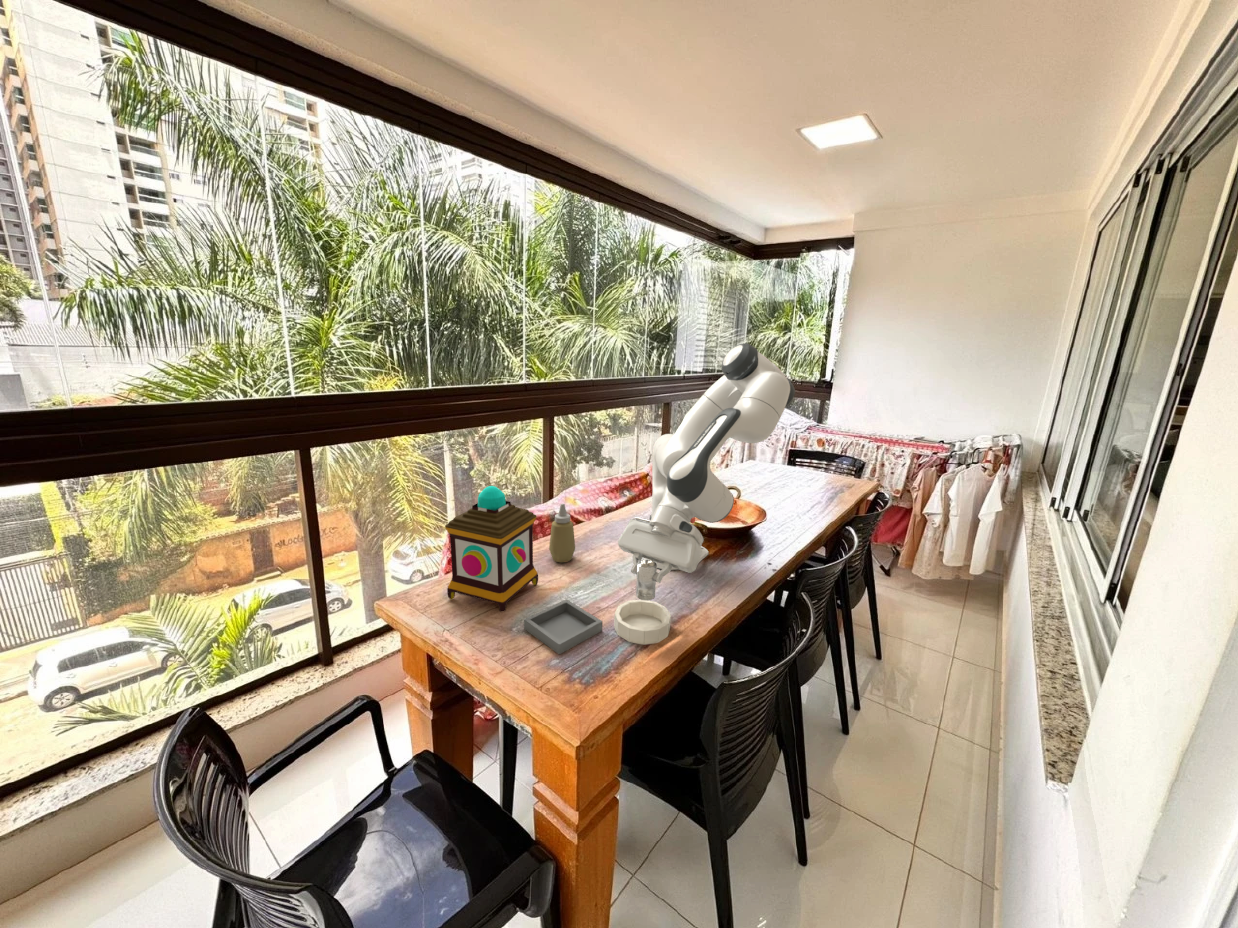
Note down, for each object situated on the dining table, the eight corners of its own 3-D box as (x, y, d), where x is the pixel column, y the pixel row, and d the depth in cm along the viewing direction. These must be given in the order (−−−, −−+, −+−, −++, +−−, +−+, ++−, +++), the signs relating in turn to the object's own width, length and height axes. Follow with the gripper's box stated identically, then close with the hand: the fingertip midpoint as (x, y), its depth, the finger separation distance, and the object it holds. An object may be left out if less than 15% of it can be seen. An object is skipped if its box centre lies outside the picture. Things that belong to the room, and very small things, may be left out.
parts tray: (566, 611, 127) (566, 599, 126) (602, 634, 118) (602, 621, 117) (524, 632, 117) (523, 619, 117) (559, 658, 109) (559, 644, 108)
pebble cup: (644, 588, 120) (646, 554, 118) (658, 595, 117) (661, 561, 115) (631, 595, 117) (633, 560, 115) (646, 602, 114) (648, 567, 112)
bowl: (639, 609, 129) (640, 594, 127) (679, 631, 120) (681, 615, 119) (603, 629, 120) (604, 613, 118) (644, 655, 111) (645, 637, 110)
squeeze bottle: (557, 567, 149) (557, 510, 144) (544, 556, 156) (544, 502, 151) (580, 560, 154) (581, 506, 149) (566, 550, 160) (567, 498, 155)
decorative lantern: (486, 568, 147) (482, 470, 139) (545, 582, 140) (545, 481, 132) (439, 601, 129) (432, 491, 121) (504, 619, 122) (501, 504, 114)
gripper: (627, 509, 124) (603, 559, 119) (703, 529, 113) (679, 585, 108) (636, 520, 129) (613, 569, 123) (709, 541, 117) (687, 595, 112)
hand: (645, 577), depth 115 cm, fingers closed on pebble cup, 4 cm apart
